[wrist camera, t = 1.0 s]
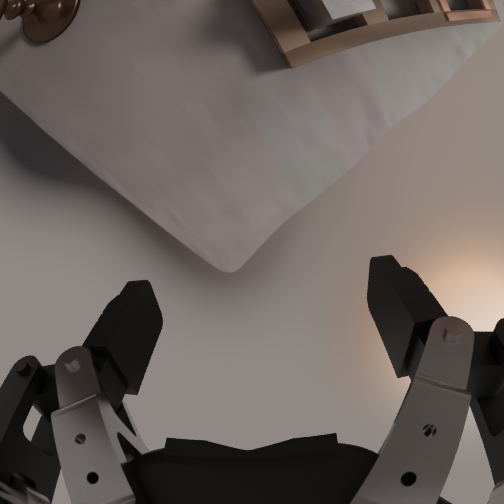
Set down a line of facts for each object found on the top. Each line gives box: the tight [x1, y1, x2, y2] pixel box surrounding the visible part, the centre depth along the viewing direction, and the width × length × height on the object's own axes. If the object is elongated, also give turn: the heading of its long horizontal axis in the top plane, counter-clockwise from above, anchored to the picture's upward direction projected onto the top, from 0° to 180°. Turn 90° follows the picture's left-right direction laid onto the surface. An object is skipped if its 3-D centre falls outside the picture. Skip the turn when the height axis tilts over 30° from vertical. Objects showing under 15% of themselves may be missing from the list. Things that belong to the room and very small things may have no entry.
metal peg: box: [293, 0, 376, 31], centre depth 18 cm, size 4×4×9 cm
